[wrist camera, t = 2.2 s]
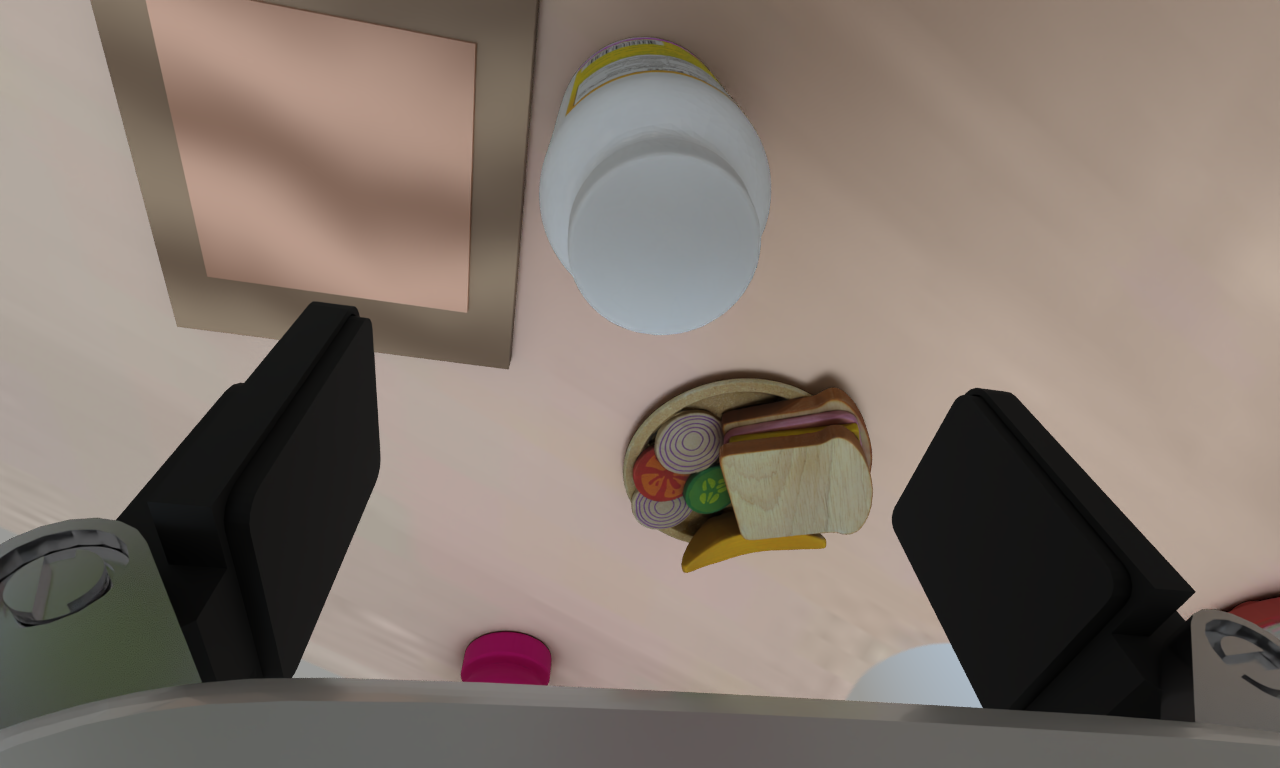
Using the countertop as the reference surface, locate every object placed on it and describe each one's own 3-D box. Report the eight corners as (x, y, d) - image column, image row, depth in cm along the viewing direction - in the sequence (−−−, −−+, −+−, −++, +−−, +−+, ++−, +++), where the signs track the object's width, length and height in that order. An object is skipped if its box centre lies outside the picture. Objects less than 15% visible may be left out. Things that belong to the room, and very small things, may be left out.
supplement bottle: (666, 233, 28) (697, 407, 18) (532, 155, 26) (477, 299, 16) (758, 95, 25) (861, 208, 15) (613, -7, 23) (614, 39, 13)
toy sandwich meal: (604, 385, 33) (603, 443, 29) (864, 347, 33) (898, 403, 29) (640, 543, 40) (643, 607, 37) (853, 515, 40) (879, 578, 36)
